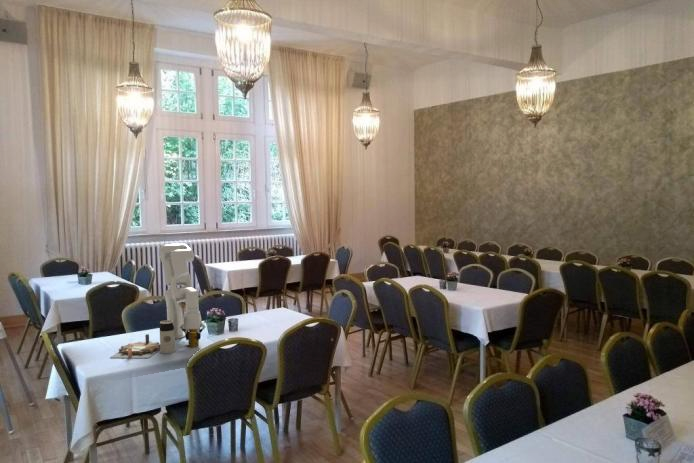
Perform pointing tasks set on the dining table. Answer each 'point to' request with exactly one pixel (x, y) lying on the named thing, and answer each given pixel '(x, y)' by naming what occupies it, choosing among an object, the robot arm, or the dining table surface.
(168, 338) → the travel mug
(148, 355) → the turntable base
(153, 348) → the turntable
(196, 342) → the condiment
